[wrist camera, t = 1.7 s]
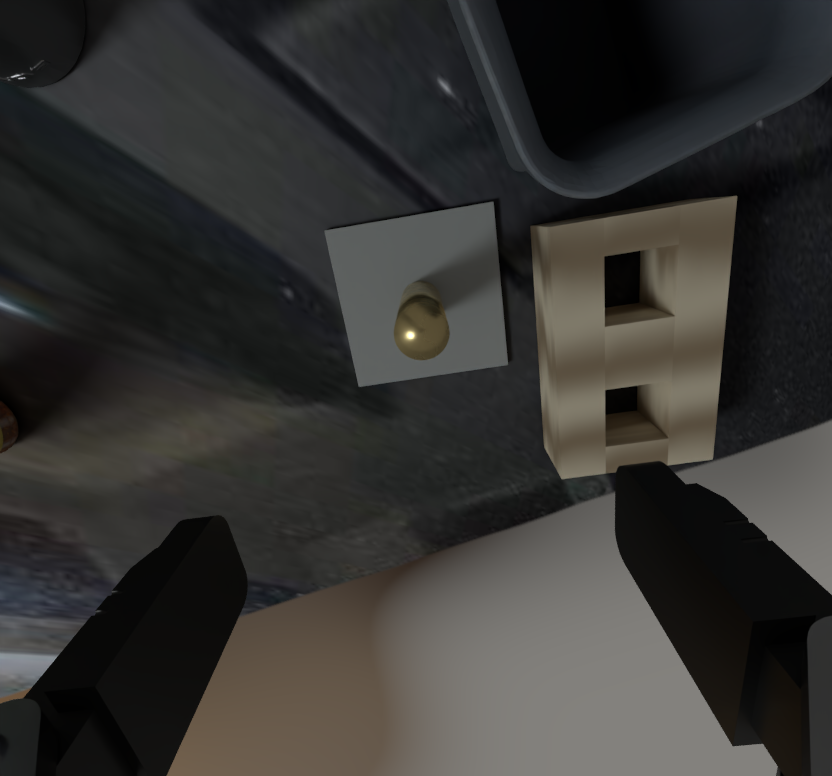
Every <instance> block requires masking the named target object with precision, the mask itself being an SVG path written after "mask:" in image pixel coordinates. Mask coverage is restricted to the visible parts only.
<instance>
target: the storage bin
mask: <svg viewBox="0 0 832 776" xmlns="http://www.w3.org/2000/svg"><path fill="white" fill-rule="evenodd" d="M447 2H448V5H449V8H450V10H451V13H452V16H453V18H454V21H455V24H456V26H457V29H458V32H459V34H460V37H461V40H462V42H463V45H464V48H465V50H466V53H467V55H468V58H469V61H470V63H471V66H472V68H473V71H474V73H475V76H476V79H477V81H478V84H479V86H480V89H481V91H482V94H483V97H484V99H485V102H486V104H487V107H488V109H489V112H490V115H491V117H492V120H493V122H494V125H495V128H496V130H497V133H498V136H499V139H500V141H501V144H502V147H503V150H504V152H505V155H506V158H507V161H508V163H509V165H510V166H511V168H512V169H514V170H515V171H519V172H525V171H527V172H528V173H529V174H530V175H531V176H532V177H533V178H534V179H535V180H536V181H537V182H539V183H540V184H542V185H543V186H545V187H546V188H548V189H550V190H552V191H554V192H556V193H557V194H560V195H563V196H566V197H571V198H578V199H589V198H599V197H602V196H606V195H610V194H613V193H615V192H617V191H620V190H622V189H624V188H626V187H628V186H630V185H632V184H634V183H636V182H638V181H640V180H642V179H644V178H646V177H648V176H650V175H652V174H654V173H656V172H658V171H660V170H662V169H664V168H666V167H668V166H670V165H672V164H674V163H676V162H678V161H680V160H682V159H684V158H686V157H688V156H690V155H692V154H694V153H696V152H698V151H700V150H702V149H704V148H706V147H708V146H710V145H712V144H714V143H716V142H718V141H720V140H722V139H724V138H726V137H728V136H730V135H732V134H734V133H736V132H738V131H740V130H742V129H744V128H746V127H747V126H749V125H751V124H753V123H755V122H757V121H759V120H761V119H763V118H765V117H767V116H769V115H771V114H774V113H776V112H778V111H779V110H781V109H783V108H785V107H787V106H789V105H791V104H794V103H796V102H797V101H799V100H801V99H802V98H804V97H806V96H807V95H809V94H811V93H812V92H814V91H815V90H817V89H818V88H819V87H820V86H822V85H823V84H824V83H826V82H827V81H828V80H829V79H830V78H831V77H832V0H447Z"/></svg>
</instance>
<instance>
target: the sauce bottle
mask: <svg viewBox="0 0 832 776" xmlns="http://www.w3.org/2000/svg"><path fill="white" fill-rule="evenodd" d="M17 437H18V423H17V419H16V417H15V416H14V415H13V412H12V411H11V410H10V409H9V408H8V407H7V405H5V404H4V403H3V402H2V401H1V400H0V453H2V452H4V451H6V450H8V449H9V448H10V447H12V445H13V444H14V443H15V441H16V439H17Z"/></svg>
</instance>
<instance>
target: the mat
mask: <svg viewBox="0 0 832 776" xmlns="http://www.w3.org/2000/svg"><path fill="white" fill-rule="evenodd" d="M325 236H326V240H327V245H328V249H329V254H330V258H331V263H332V267H333V272H334V276H335V281H336V285H337V290H338V294H339V299H340V303H341V308H342V313H343V317H344V322H345V326H346V331H347V335H348V340H349V344H350V349H351V353H352V358H353V362H354V367H355V371H356V376H357V380H358V385H359V387H361V386H368V385H375V384H382V383H389V382H395V381H402V380H409V379H416V378H422V377H429V376H436V375H443V374H449V373H456V372H463V371H470V370H476V369H483V368H490V367H497V366H503V365H508V359H507V347H506V336H505V325H504V314H503V303H502V292H501V280H500V269H499V258H498V247H497V236H496V224H495V213H494V202H488V203H482V204H476V205H471V206H465V207H459V208H453V209H447V210H442V211H436V212H430V213H424V214H418V215H413V216H407V217H401V218H395V219H389V220H383V221H378V222H372V223H366V224H360V225H354V226H349V227H343V228H337V229H331V230H325ZM416 281H426V282H429V283H431V284H433V285H434V286H435V287H436V288H437V289H438V291H439V293H440V296H441V300H442V303H443V307H444V311H445V314H446V318H447V321H448V325H449V331H450V335H449V341H448V343H447V345H446V347H445V349H444V350H443V351H442V352H441V353H440V354H439V355H437V356H436V357H434V358H432V359H429V360H415V359H411V358H409V357H407V356H406V355H404V354H403V353H402V352H401V351H400V350H399V348H398V347H397V345H396V343H395V339H394V326H395V322H396V318H397V314H398V309H399V305H400V301H401V297H402V294H403V291H404V290H405V288H406V287H407V286H408V285H410V284H411V283H413V282H416Z"/></svg>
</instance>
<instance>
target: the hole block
mask: <svg viewBox="0 0 832 776" xmlns="http://www.w3.org/2000/svg"><path fill="white" fill-rule="evenodd" d="M736 205H737V196H727V197H713V198H700V199H688V200H682V201H676V202H670V203H664V204H658V205H652V206H646V207H640V208H634V209H628V210H622V211H616V212H610V213H604V214H598V215H592V216H586V217H580V218H574V219H568V220H562V221H556V222H550V223H544V224H538V225H532V226H530V229H531V244H532V260H533V276H534V292H535V308H536V324H537V340H538V356H539V372H540V388H541V404H542V420H543V435H544V447H545V449H546V451H547V453H548V455H549V457H550V458H551V460H552V462H553V464H554V466H555V468H556V469H557V471H558V473H559V475H560V477H561V479H566V478H574V477H582V476H589V475H597V474H605V473H612V472H616V471H617V468H618V467H619V466H622V465H629V464H637V463H645V462H653V461H661V462H663V463H665V464H666V465H674V464H682V463H689V462H697V461H705V460H712V459H713V452H714V441H715V430H716V419H717V409H718V398H719V387H720V376H721V366H722V355H723V344H724V333H725V323H726V312H727V301H728V291H729V280H730V269H731V258H732V248H733V237H734V226H735V215H736ZM635 251H640V292H639V303H634V304H627V305H621V306H614V307H608V308H605V285H604V256H610V255H617V254H623V253H629V252H635ZM631 386H637V410H636V411H629V412H621V413H614V414H607V415H605V390H610V389H617V388H624V387H631Z"/></svg>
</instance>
